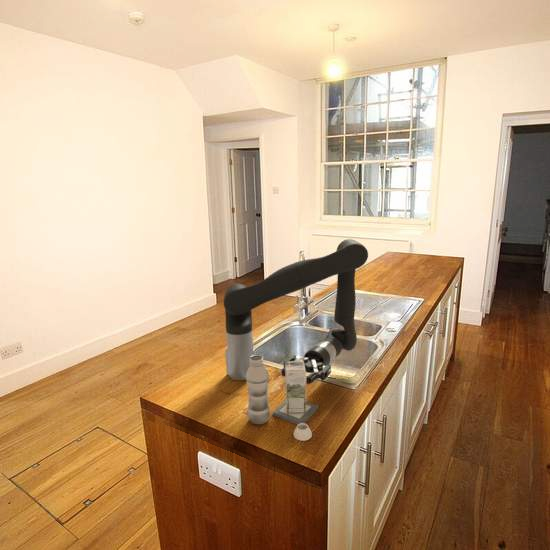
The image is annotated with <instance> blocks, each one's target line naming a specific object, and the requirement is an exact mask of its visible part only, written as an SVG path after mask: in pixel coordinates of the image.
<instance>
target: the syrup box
mask: <svg viewBox="0 0 550 550" xmlns="http://www.w3.org/2000/svg"><path fill="white" fill-rule="evenodd" d="M306 376H307V372H306V370H305V365H304V361H286V362H285V377H284V378H285V379H284V380H285V401H286V408H287V414H290V413H306V402H307V399H306V398H307V393H306V392H307V389H306V388H307V385H306V384H307V382H306V379H307V377H306Z"/></svg>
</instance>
